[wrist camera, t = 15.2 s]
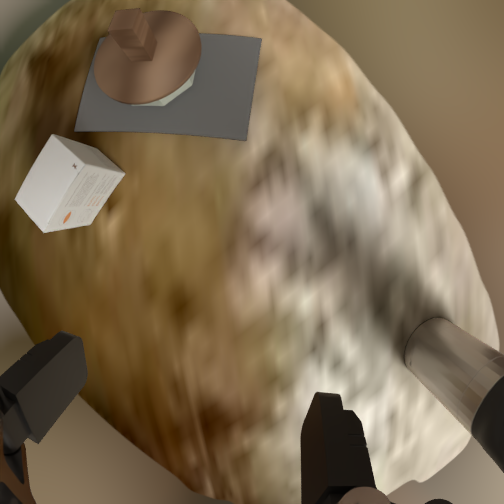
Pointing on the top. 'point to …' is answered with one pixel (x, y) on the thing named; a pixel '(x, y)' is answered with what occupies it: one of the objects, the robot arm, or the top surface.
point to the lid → (146, 55)
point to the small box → (67, 185)
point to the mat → (186, 96)
